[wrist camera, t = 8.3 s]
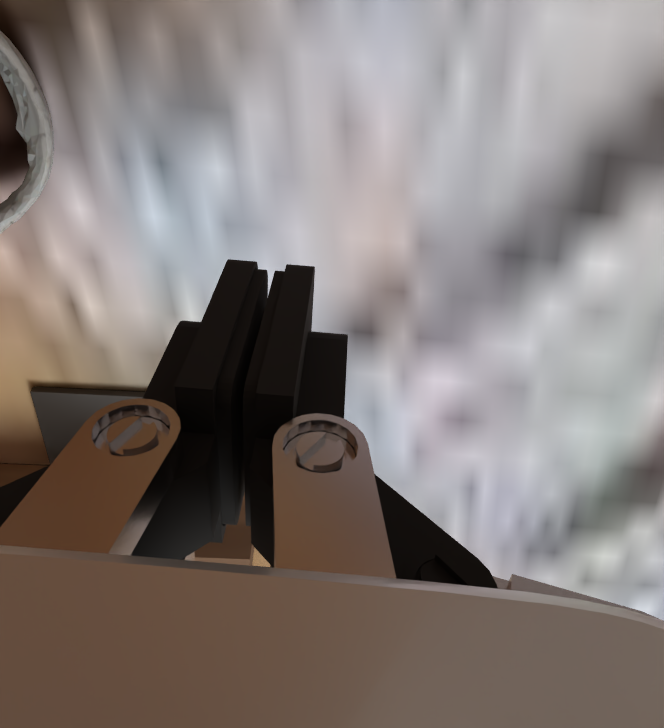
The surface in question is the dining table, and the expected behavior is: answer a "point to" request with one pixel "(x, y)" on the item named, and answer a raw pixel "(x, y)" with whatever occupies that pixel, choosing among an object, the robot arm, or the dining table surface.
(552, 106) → the dining table surface
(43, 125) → the ceramic mug
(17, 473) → the trap box
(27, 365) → the dining table surface
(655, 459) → the dining table surface
